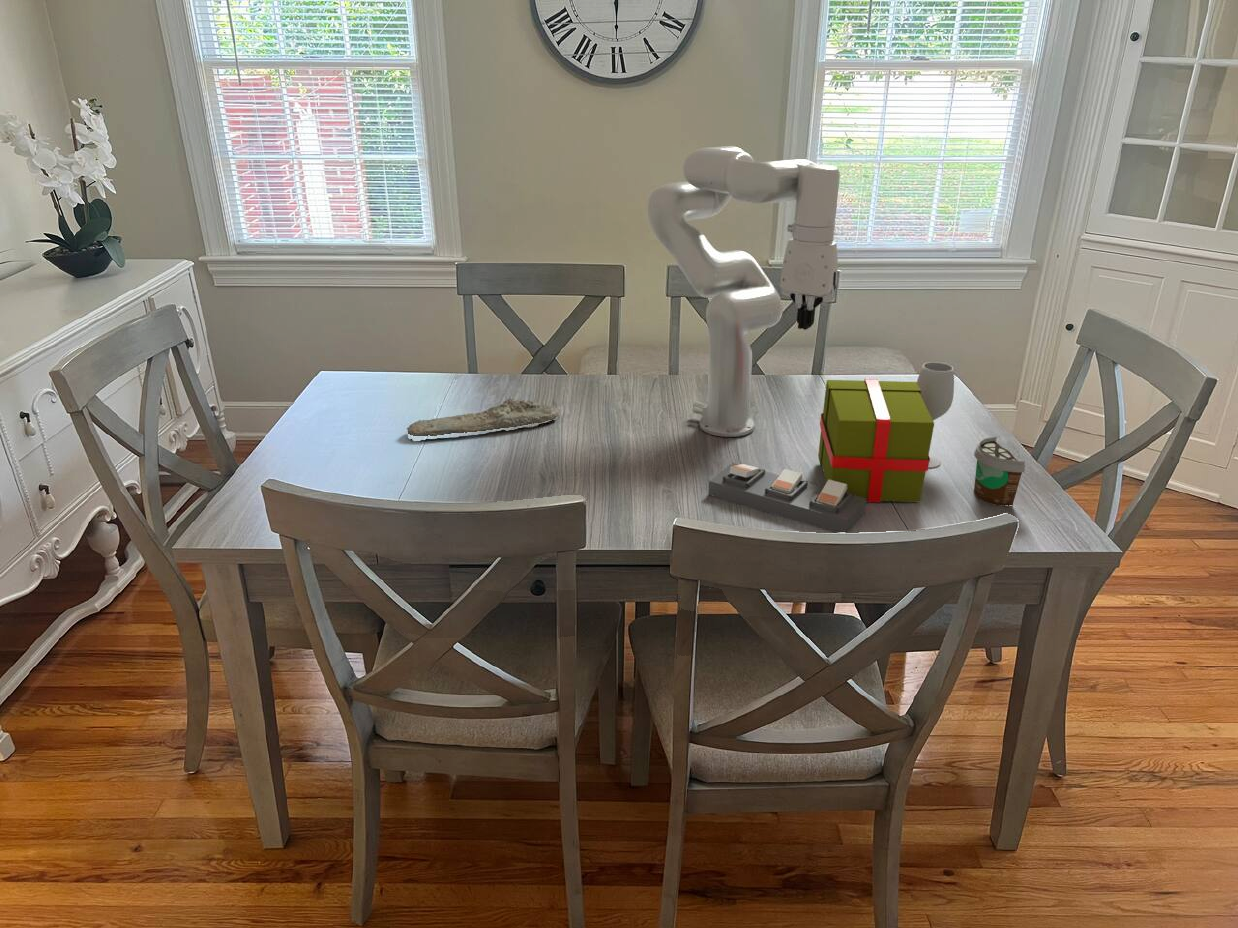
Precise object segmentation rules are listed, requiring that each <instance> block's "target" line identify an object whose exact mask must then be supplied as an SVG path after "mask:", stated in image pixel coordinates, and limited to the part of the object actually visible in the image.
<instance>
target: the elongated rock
mask: <svg viewBox="0 0 1238 928" xmlns="http://www.w3.org/2000/svg"><path fill="white" fill-rule="evenodd" d="M557 416H558V417H559V411H558V409H557V408H556V406H553V405H549V404H547V405H546V404H543V403H540V402H536V401H535V400H534V401H532V400H531V401H530V400H528V401H526V400H519V399H518V400H516V399H515V398H514V397H512V398H511V397H510V398H507V399H506V400H504V401H503V402H502V404H499V405H497V406H492V407H489V408H488V409H486V410H484V411H481V412H477V413H467V414H466V413H465V414H458V415H452V416H444V417H440V418H438V417H436V418H431V419H426V420H425V419H423V420H420V419H419V420H418V421H415V422H413V423H411V424H410V425H409V426H408V427H407V428H406V429H407V432H408V434H410V435H413V436H428V435H430V436H437V435H444V434H451V433H464V432H465V433H467V432H477V431H486V430H493V429H500V428H509V427H517V426H522V425H528V424H532V423H533V424H534V423H542V422H545V421H548V420H553V419H555V418H556V417H557ZM558 417H557V418H558Z"/></svg>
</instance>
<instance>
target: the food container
mask: <svg viewBox="0 0 1238 928" xmlns="http://www.w3.org/2000/svg"><path fill="white" fill-rule="evenodd" d="M997 438H998V437H997V436H991V437H987V438H984V439H981V440H980V441H979V443H978V444H977V445H976V448H975V450H974V452H973V455H974V458H975V459H976V467H975V476H974V486H973V487H974V488H973V494H974V496H975V497H977V499H979V500H981V501H983V502H984V503H987V502H988V503H987V504H990V503H991V504H990V505H993V504H995V506H998V505H1004V506H1003V507H1006V506H1005V505H1008V506H1009V505H1012V506H1014V502H1015V498H1016V494H1017V491H1018V488H1019V484H1020V481H1021V477H1022V474H1023V473H1025V467H1026V464H1025V463H1026V461H1025V460H1017V459H1016V458H1015V456H1014V455H1013V454H1012V453H1011V452H1010V450H1008V449H1006V448H1004V447H1002V446H1001V445H1000V444H999V443H998V442H997Z"/></svg>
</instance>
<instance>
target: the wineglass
mask: <svg viewBox="0 0 1238 928" xmlns="http://www.w3.org/2000/svg"><path fill="white" fill-rule="evenodd" d="M916 382H917V384H918V386H919V388H920V390H921V394H920V395H921V397H922V399H923V401H924V403H925V405H926V407H927V409H928V411H929V413H930V415H931V417H932V420H933V421H936V420H937V419H939V418H941V417H942V416H944V415H945V414H947V412H948V411H949V409H951V407H952V404H953V400H954V394H955V371H954V366H952V365H951V364H948V363H945V362H939V361H930V362H925V363H923V364H922V366H921V369H920V371H919V375H918V377H917V380H916ZM929 458H930V462H929V466H928V469H935V468H938V467H940V466H941V464H942V462H941V460H940V458H938V457H936V456H935V455H932V454H930V453H929Z"/></svg>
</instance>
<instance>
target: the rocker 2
mask: <svg viewBox="0 0 1238 928" xmlns="http://www.w3.org/2000/svg"><path fill="white" fill-rule="evenodd" d="M779 475H780V476H779V477H778V478H777V480H776V481H775V482H774V484H773V485H772V489H773V490H776V491H780V492H784V493H787V494H791V493H792V492H793V490H794V489H795V488H796V486H797V485H798V483H799V482H800V480H803V473H802V472H797V471H794V470H790V469H787V468H784V469H783V470H782V471H781V473H780V474H779Z"/></svg>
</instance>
